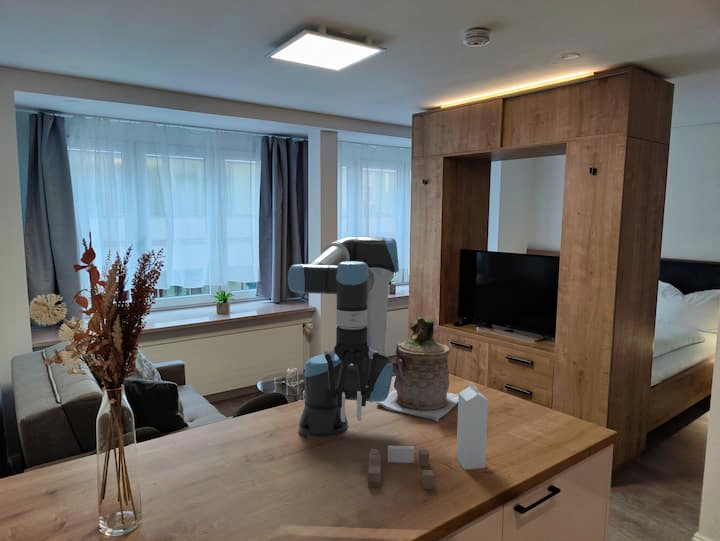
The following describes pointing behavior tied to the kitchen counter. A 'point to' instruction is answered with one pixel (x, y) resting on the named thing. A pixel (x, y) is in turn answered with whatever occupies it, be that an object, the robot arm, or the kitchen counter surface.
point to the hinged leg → (374, 469)
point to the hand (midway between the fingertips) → (350, 418)
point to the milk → (472, 428)
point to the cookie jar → (421, 375)
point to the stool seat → (407, 456)
